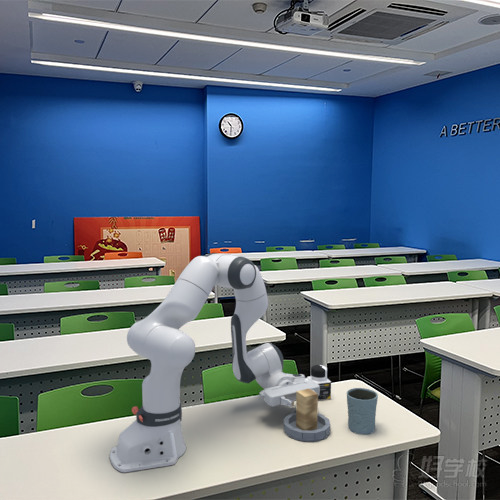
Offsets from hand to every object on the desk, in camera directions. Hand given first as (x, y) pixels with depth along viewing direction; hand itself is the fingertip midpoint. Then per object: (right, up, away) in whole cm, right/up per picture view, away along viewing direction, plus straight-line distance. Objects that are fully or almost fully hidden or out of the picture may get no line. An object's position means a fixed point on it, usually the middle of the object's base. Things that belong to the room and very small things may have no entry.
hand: (304, 401), depth 162 cm
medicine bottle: (+8, -6, +26) cm, 28 cm away
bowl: (+1, -9, 0) cm, 9 cm away
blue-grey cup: (+19, -9, +1) cm, 21 cm away
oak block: (+1, -8, -1) cm, 8 cm away
